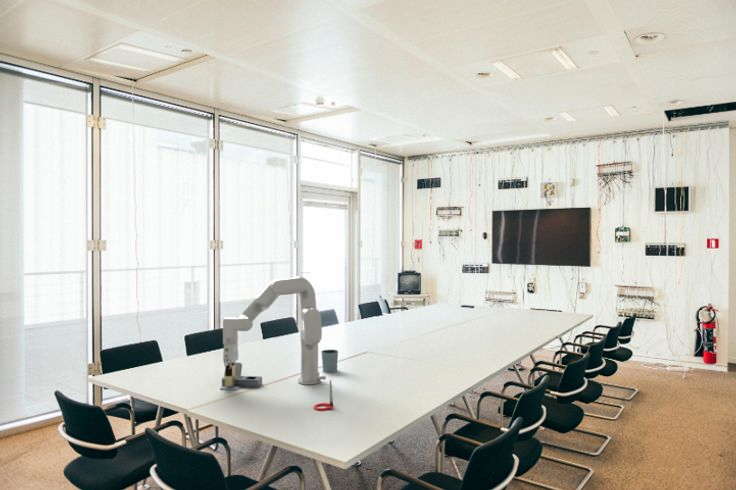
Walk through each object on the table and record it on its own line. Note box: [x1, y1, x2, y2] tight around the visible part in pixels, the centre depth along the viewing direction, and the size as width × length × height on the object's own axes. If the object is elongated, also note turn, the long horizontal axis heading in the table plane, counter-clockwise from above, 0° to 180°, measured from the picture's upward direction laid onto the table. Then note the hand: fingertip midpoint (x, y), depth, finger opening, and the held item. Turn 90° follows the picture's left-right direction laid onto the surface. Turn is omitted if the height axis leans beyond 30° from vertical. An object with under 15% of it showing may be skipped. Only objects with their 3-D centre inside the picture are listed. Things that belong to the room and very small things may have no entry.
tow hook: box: [313, 380, 334, 411], centre depth 232 cm, size 8×13×9 cm
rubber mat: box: [220, 386, 241, 391], centre depth 261 cm, size 9×5×1 cm, turn 84°
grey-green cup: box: [321, 349, 339, 374], centre depth 298 cm, size 10×10×12 cm
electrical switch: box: [223, 362, 243, 378], centre depth 282 cm, size 9×5×9 cm, turn 78°
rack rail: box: [221, 375, 263, 389], centre depth 268 cm, size 20×7×4 cm, turn 84°
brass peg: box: [225, 365, 235, 386], centre depth 261 cm, size 4×4×10 cm
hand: (230, 374), depth 261 cm, fingers closed on brass peg, 4 cm apart
